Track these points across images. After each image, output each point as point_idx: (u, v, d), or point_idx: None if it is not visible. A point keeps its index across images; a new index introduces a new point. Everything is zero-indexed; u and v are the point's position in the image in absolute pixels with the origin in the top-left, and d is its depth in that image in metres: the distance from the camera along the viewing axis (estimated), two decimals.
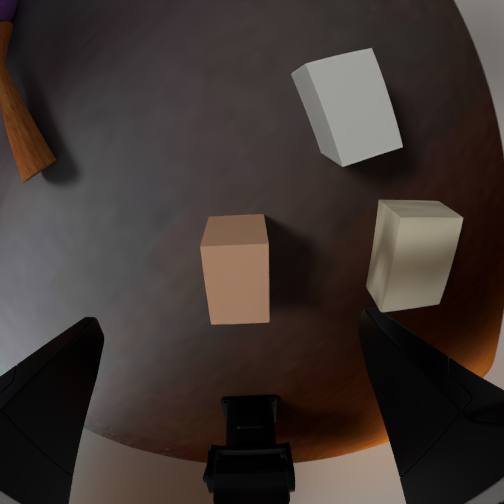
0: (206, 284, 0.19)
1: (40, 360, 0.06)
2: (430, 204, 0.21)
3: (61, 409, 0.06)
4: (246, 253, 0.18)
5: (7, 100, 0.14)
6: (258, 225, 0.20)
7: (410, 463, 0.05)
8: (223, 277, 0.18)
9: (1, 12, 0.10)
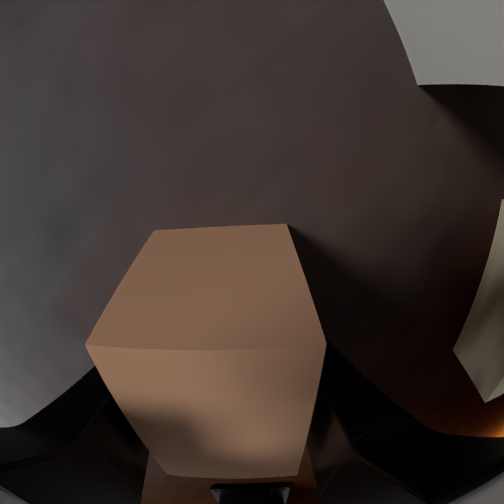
0: (134, 426, 0.06)
1: None
2: None
3: None
4: (243, 372, 0.05)
5: None
6: (277, 259, 0.07)
7: (324, 484, 0.05)
8: (175, 419, 0.05)
9: None
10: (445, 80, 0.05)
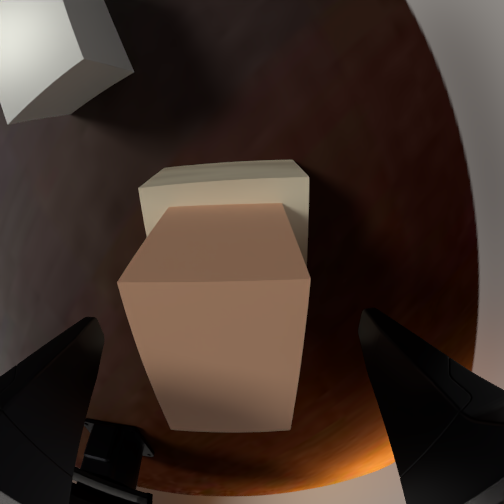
0: (147, 368, 0.07)
1: (40, 360, 0.06)
2: (261, 164, 0.12)
3: (61, 409, 0.06)
4: (245, 303, 0.06)
5: None
6: (273, 226, 0.08)
7: (410, 463, 0.05)
8: (186, 357, 0.07)
9: None
10: (53, 115, 0.10)
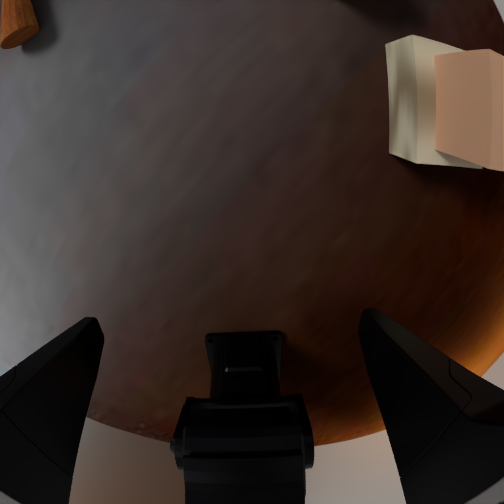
0: (493, 101, 0.09)
1: (40, 360, 0.06)
2: None
3: (61, 409, 0.06)
4: None
5: None
6: None
7: (410, 463, 0.05)
8: None
9: None
10: None
